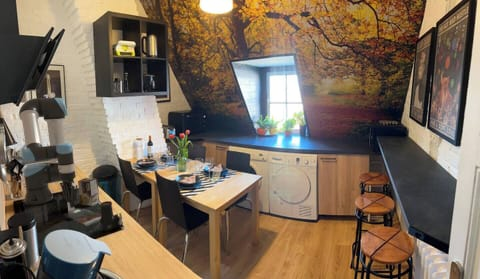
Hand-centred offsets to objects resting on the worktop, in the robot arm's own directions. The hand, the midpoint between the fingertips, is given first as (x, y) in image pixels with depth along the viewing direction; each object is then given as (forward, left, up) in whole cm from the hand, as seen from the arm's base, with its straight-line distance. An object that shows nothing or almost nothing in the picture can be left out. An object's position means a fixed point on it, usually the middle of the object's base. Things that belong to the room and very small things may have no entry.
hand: (71, 212), depth 166 cm
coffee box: (-7, +16, -3) cm, 17 cm away
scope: (+31, +2, -3) cm, 31 cm away
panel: (+6, +3, -3) cm, 7 cm away
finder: (+4, 0, -2) cm, 4 cm away
